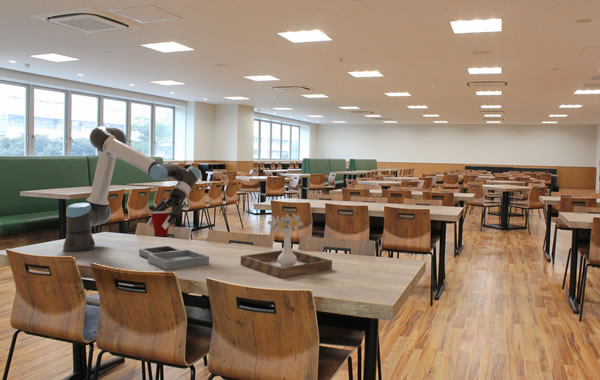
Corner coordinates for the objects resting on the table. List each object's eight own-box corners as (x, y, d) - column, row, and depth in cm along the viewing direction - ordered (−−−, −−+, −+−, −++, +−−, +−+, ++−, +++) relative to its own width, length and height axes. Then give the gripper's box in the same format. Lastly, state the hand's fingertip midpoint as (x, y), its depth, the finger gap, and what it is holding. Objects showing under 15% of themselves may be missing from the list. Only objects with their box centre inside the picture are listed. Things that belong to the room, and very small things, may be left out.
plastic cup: (165, 232, 248) (165, 209, 247) (176, 235, 240) (176, 211, 239) (145, 234, 240) (145, 210, 239) (156, 238, 233) (156, 212, 232)
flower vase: (276, 262, 230) (276, 211, 228) (309, 266, 221) (310, 214, 219) (261, 267, 219) (261, 214, 217) (295, 272, 210) (296, 216, 209)
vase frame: (240, 264, 224) (240, 255, 223) (288, 257, 241) (288, 249, 240) (281, 278, 199) (282, 268, 199) (331, 269, 216) (332, 260, 216)
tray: (148, 261, 227) (148, 254, 227) (188, 256, 240) (188, 249, 239) (166, 270, 211) (166, 262, 211) (209, 264, 224) (209, 256, 223)
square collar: (139, 254, 242) (139, 248, 242) (168, 251, 252) (168, 245, 251) (151, 260, 230) (151, 254, 230) (182, 256, 240) (182, 250, 239)
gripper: (200, 198, 246) (176, 233, 234) (168, 195, 258) (144, 229, 245) (192, 188, 241) (168, 224, 229) (160, 186, 253) (135, 219, 240)
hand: (156, 226), depth 237 cm, fingers closed on plastic cup, 10 cm apart
